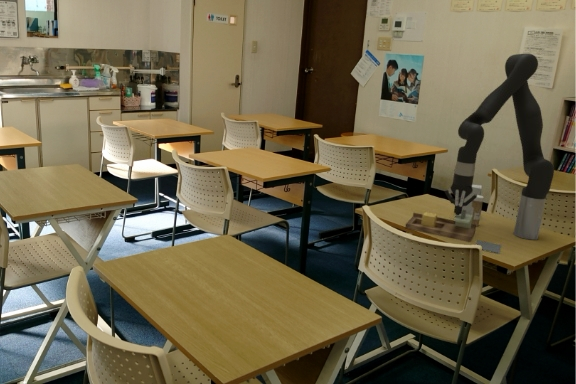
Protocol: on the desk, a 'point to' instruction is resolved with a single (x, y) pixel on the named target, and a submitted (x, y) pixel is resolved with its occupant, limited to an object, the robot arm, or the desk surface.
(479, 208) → the sprinkles bottle
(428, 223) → the block
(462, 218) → the lock slider
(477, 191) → the skincare box
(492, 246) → the mat
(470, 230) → the puzzle board
